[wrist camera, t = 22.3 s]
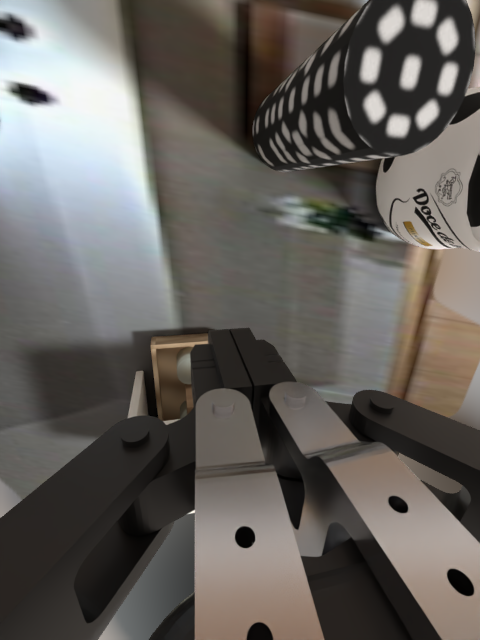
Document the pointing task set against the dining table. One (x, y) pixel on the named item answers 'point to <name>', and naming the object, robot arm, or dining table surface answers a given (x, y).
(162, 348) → the tray
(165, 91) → the dining table surface
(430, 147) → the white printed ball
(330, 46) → the white-spotted black cylinder
